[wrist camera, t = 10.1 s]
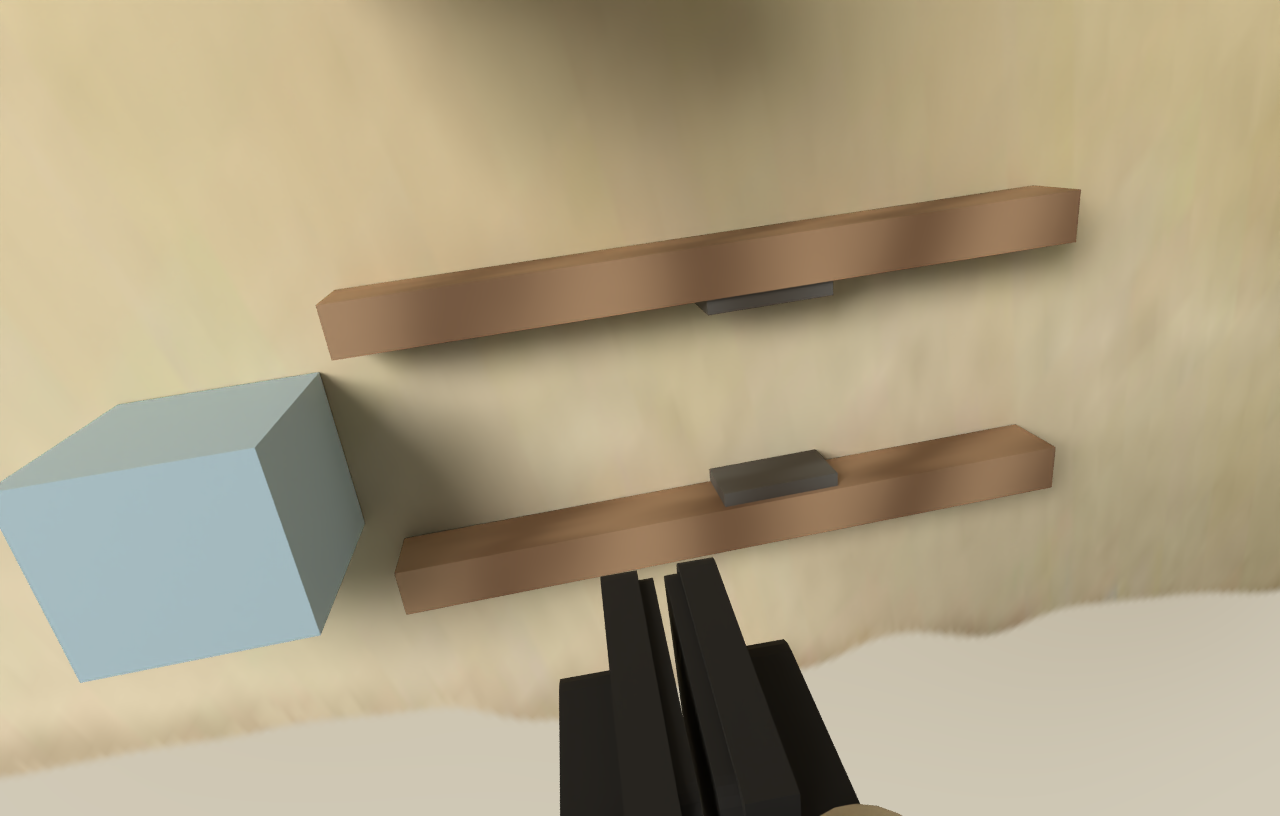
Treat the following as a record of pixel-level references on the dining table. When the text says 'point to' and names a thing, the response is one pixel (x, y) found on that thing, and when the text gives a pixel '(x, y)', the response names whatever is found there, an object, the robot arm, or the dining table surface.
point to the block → (187, 526)
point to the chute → (717, 282)
